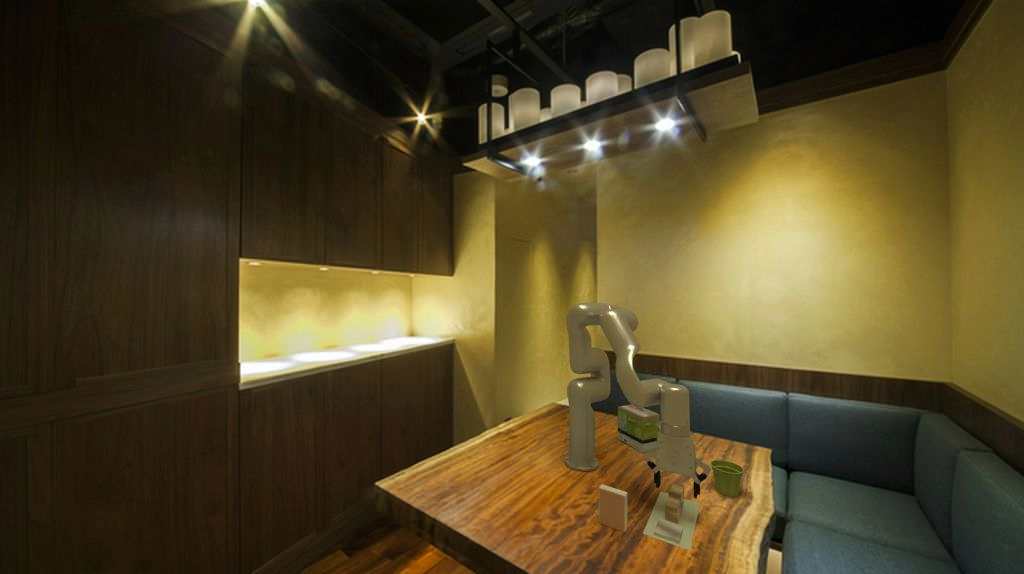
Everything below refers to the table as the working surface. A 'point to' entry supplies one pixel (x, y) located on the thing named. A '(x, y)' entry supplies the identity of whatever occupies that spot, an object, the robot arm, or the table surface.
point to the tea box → (638, 427)
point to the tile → (613, 507)
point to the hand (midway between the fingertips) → (676, 491)
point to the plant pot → (727, 477)
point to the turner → (672, 515)
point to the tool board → (686, 520)
